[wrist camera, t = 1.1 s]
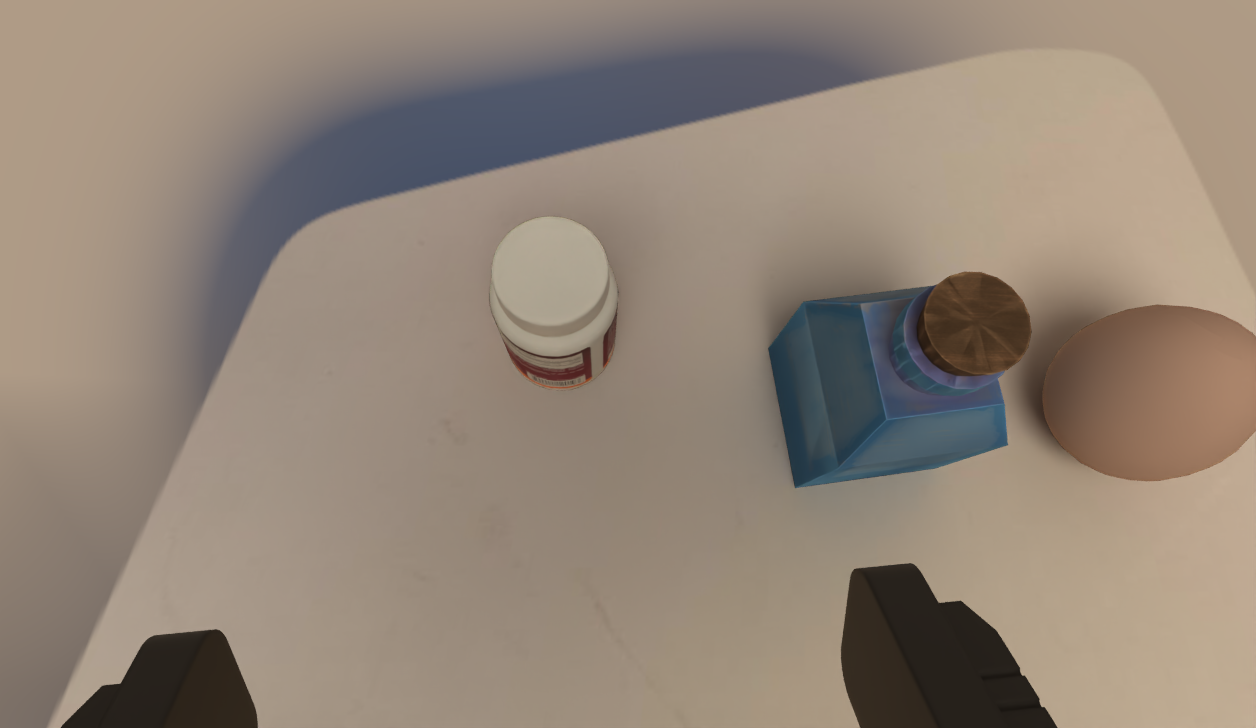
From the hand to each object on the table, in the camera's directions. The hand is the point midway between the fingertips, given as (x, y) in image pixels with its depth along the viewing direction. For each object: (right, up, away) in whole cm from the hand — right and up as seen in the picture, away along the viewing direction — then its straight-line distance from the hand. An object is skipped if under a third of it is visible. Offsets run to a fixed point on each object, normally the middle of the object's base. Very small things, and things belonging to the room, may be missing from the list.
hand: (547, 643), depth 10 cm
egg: (+21, +1, +25) cm, 33 cm away
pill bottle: (-2, +5, +25) cm, 25 cm away
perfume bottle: (+11, +2, +25) cm, 27 cm away
